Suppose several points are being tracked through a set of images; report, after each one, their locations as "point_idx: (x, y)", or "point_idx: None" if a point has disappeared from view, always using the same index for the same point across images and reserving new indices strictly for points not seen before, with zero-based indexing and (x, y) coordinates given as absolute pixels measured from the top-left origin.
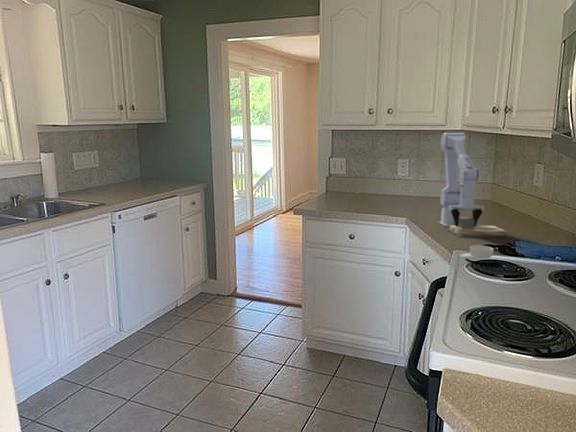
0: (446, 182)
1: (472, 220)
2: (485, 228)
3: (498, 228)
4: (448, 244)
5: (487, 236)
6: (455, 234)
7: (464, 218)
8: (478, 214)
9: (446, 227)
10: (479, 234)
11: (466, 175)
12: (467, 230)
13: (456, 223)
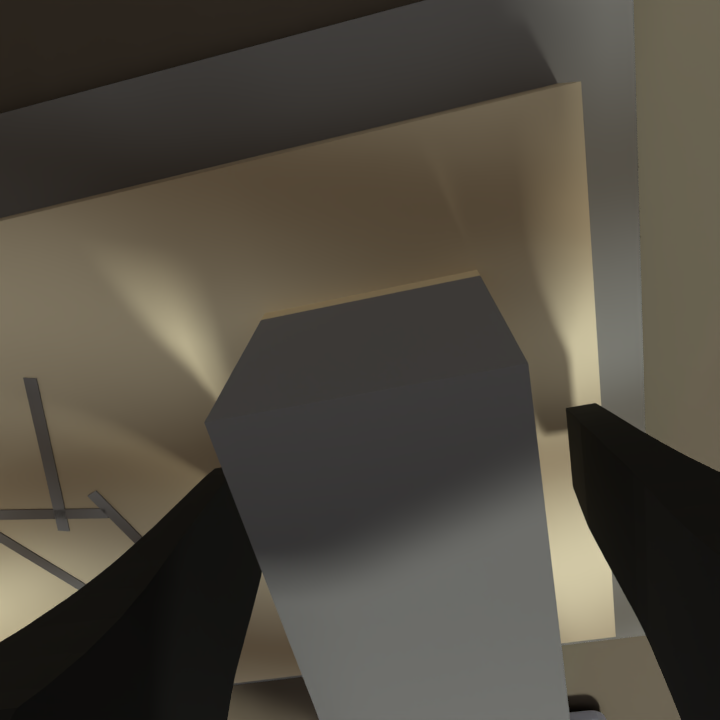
0: None
1: (265, 402)
2: (53, 497)
3: None
4: None
5: (35, 105)
6: (634, 151)
7: (454, 579)
8: (27, 658)
9: (619, 634)
10: (175, 174)
11: None
12: (396, 250)
13: (634, 434)
